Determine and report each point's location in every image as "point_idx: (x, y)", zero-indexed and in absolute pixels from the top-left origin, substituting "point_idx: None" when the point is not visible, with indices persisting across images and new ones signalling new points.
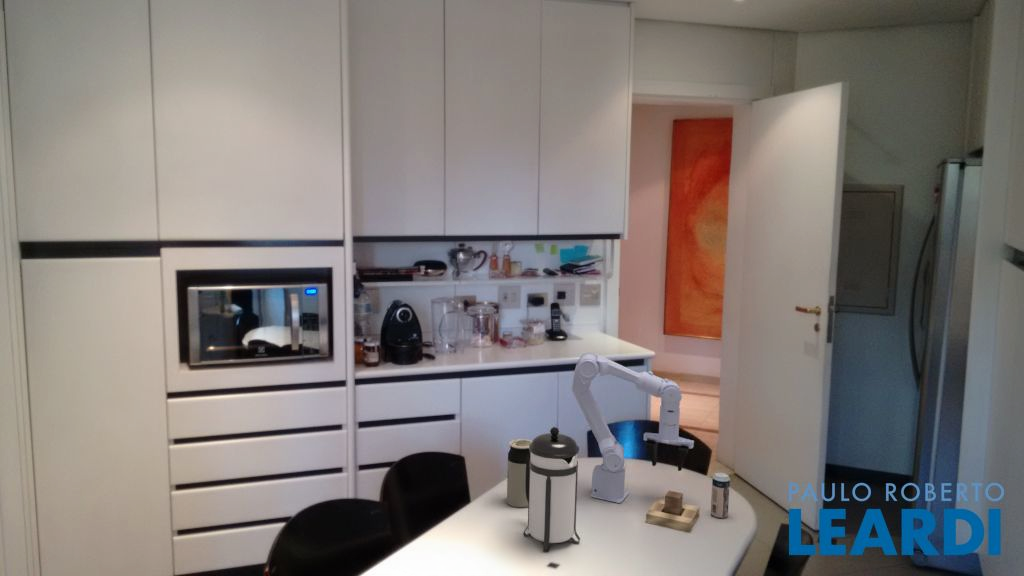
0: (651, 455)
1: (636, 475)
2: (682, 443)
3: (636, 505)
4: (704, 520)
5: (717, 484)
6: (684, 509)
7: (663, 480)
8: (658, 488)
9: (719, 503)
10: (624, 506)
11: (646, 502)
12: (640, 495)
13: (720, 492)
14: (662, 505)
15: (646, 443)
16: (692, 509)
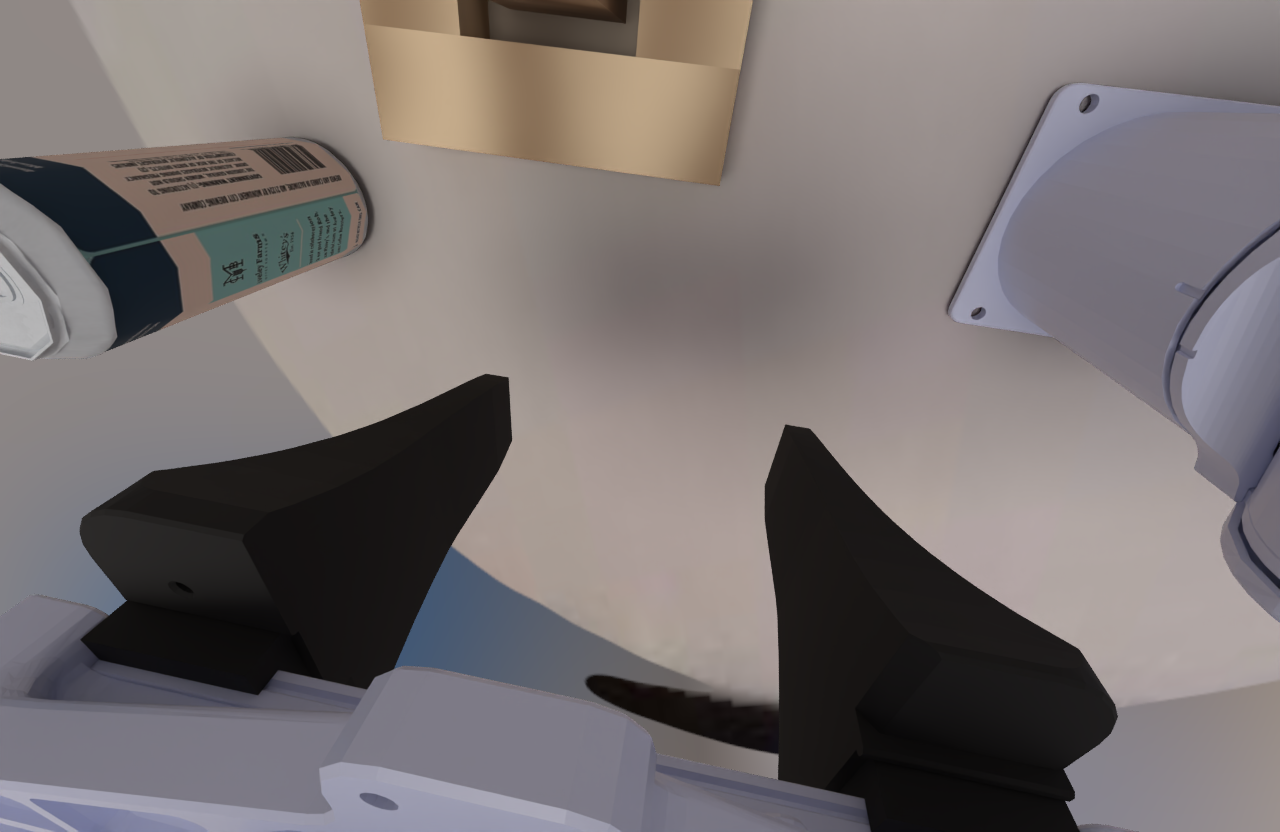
0: (865, 507)
1: None
2: (79, 715)
3: (895, 121)
4: (359, 53)
5: (34, 167)
6: (473, 39)
7: (714, 555)
8: (733, 463)
9: (204, 147)
10: (1020, 40)
11: (807, 222)
12: (850, 331)
13: (95, 154)
14: (663, 8)
15: (1099, 730)
16: (407, 48)
